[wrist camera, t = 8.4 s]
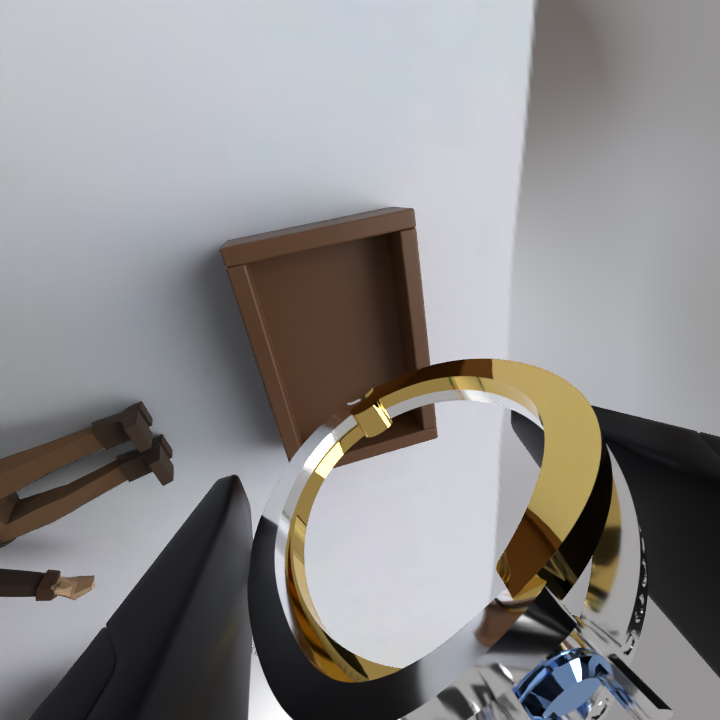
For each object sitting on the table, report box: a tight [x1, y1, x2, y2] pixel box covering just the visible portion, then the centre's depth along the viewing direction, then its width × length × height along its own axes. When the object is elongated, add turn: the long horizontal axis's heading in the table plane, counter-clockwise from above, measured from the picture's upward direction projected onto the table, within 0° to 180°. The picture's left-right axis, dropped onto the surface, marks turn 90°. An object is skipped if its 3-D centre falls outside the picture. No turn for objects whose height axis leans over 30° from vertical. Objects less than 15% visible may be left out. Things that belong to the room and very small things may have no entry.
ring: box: [247, 359, 674, 720], centre depth 7 cm, size 7×3×8 cm, turn 118°
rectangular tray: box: [220, 207, 438, 468], centre depth 15 cm, size 9×6×2 cm
